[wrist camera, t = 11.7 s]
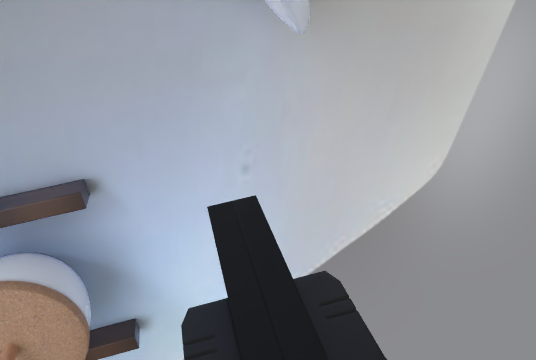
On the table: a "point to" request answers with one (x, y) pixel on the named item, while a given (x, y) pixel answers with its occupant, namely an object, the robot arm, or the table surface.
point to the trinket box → (42, 309)
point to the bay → (57, 203)
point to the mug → (292, 13)
